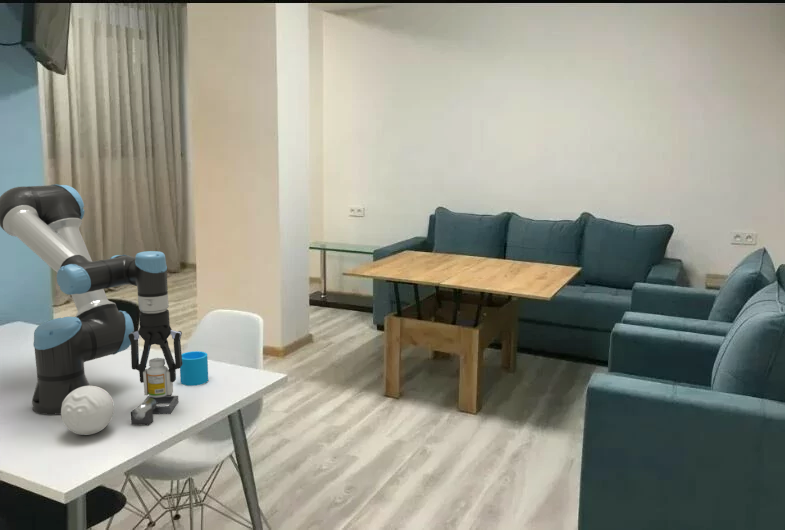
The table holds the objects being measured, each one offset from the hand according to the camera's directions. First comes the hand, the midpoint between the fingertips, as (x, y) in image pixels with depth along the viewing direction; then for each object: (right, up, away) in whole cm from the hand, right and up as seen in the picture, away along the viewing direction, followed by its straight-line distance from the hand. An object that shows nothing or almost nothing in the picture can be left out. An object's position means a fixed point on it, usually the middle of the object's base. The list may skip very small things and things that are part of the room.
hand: (158, 393), depth 183 cm
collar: (0, -4, +1) cm, 4 cm away
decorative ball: (-12, -7, -15) cm, 20 cm away
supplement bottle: (0, -1, 0) cm, 1 cm away
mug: (+2, 0, +24) cm, 24 cm away
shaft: (-1, -6, -7) cm, 9 cm away
